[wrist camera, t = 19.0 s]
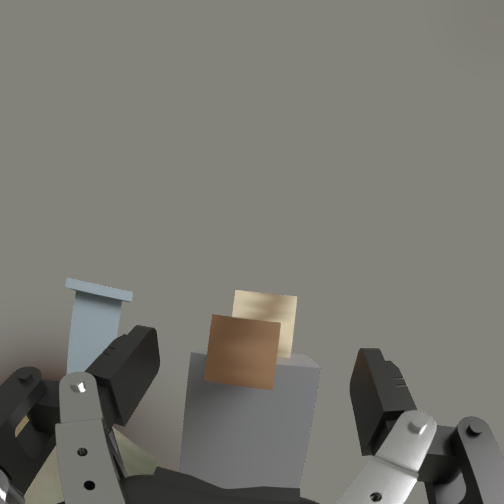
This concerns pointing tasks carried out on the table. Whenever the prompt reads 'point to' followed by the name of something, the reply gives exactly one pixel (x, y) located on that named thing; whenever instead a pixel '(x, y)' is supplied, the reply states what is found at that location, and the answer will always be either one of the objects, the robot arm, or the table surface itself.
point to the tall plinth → (93, 322)
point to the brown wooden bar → (251, 340)
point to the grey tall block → (249, 426)
